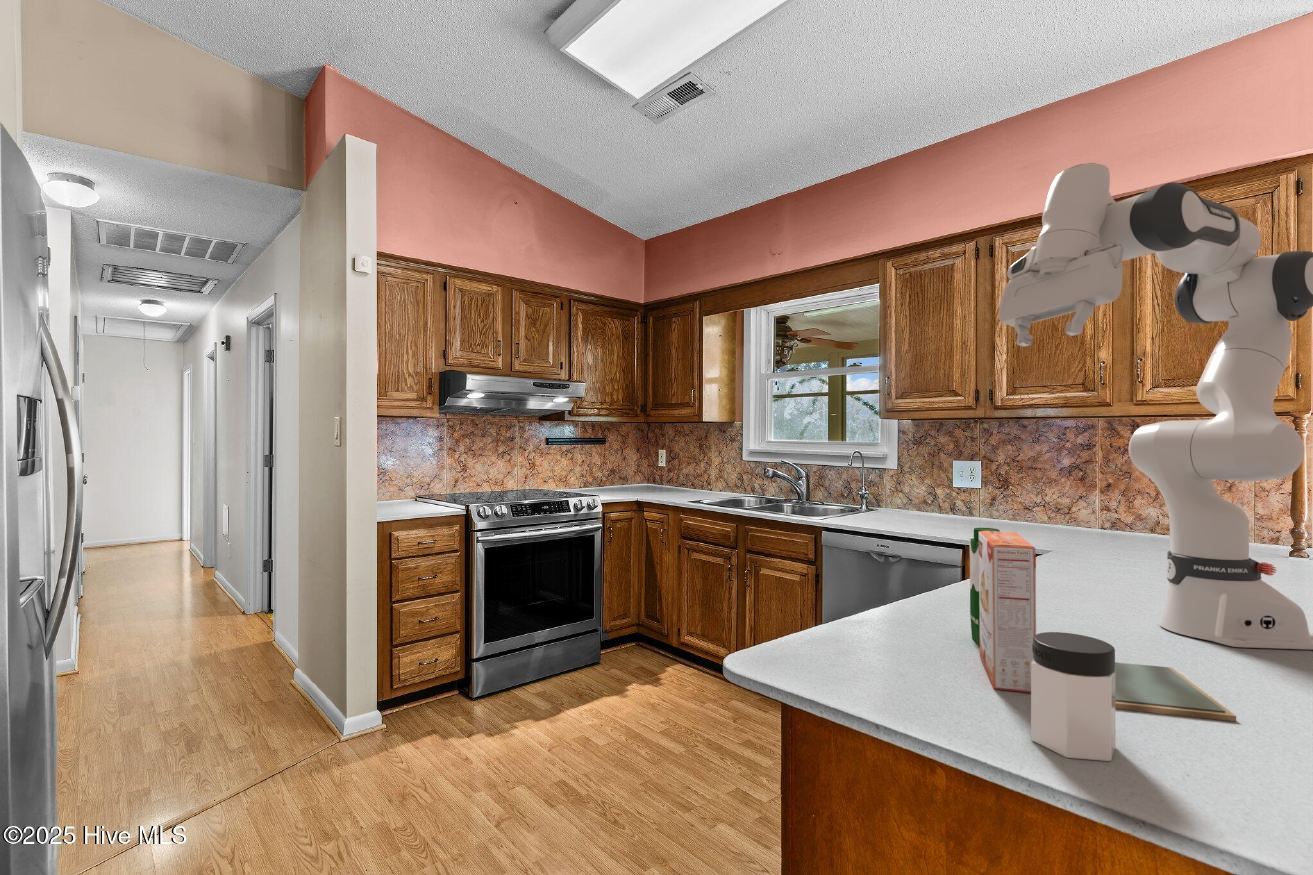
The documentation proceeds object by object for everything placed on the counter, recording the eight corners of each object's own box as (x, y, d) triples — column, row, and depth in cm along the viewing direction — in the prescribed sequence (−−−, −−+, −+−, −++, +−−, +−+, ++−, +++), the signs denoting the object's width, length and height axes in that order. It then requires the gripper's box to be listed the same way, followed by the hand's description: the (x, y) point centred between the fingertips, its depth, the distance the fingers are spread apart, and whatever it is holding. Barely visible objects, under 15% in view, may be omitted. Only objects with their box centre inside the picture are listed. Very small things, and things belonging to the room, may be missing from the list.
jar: (1039, 721, 82) (1040, 626, 82) (1118, 740, 77) (1118, 639, 77) (1025, 747, 75) (1025, 644, 75) (1110, 770, 70) (1110, 659, 70)
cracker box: (976, 657, 106) (977, 529, 105) (1018, 662, 103) (1018, 531, 103) (989, 689, 92) (989, 543, 92) (1038, 695, 90) (1038, 545, 90)
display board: (1171, 671, 99) (1171, 666, 99) (1236, 721, 82) (1236, 714, 82) (1024, 658, 105) (1024, 652, 105) (1055, 701, 88) (1055, 695, 88)
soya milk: (964, 636, 117) (964, 525, 117) (1019, 639, 115) (1019, 526, 115) (978, 652, 108) (978, 532, 108) (1038, 655, 106) (1038, 534, 106)
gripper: (1141, 245, 96) (1124, 333, 94) (1029, 283, 116) (1013, 356, 114) (1108, 230, 94) (1090, 319, 93) (1000, 271, 114) (984, 344, 113)
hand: (1047, 339), depth 104 cm, fingers open, 8 cm apart
